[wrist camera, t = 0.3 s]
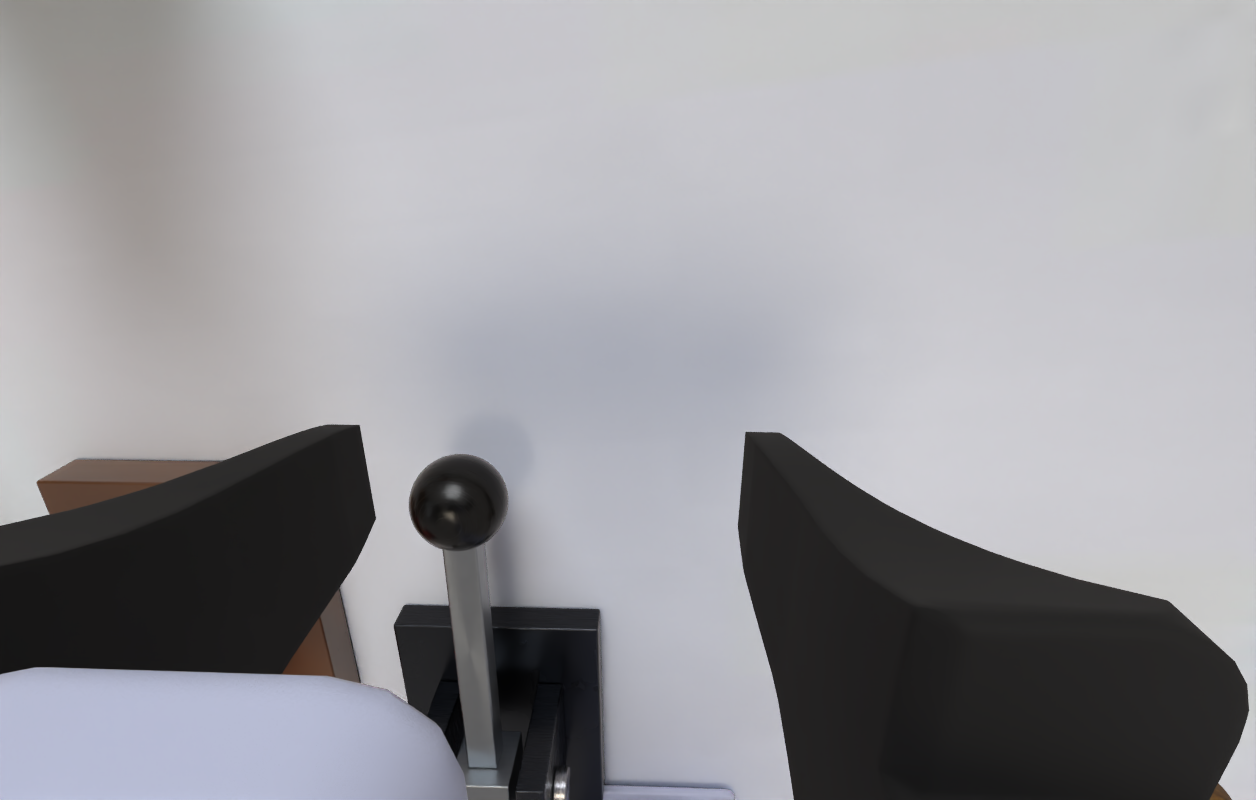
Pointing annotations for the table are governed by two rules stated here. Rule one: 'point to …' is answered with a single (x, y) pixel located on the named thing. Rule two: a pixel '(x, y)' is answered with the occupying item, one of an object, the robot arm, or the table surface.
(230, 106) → the table surface
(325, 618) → the button block
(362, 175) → the table surface
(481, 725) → the lever
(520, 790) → the bracket
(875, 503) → the robot arm
